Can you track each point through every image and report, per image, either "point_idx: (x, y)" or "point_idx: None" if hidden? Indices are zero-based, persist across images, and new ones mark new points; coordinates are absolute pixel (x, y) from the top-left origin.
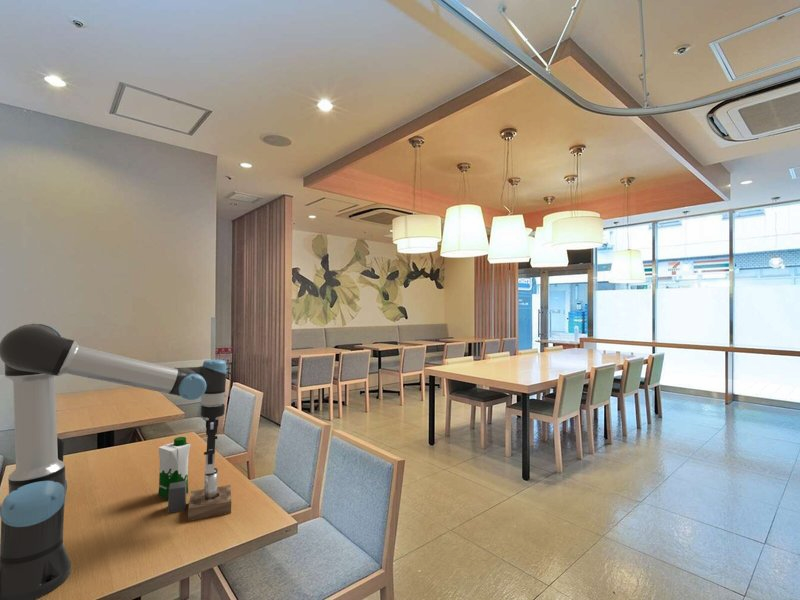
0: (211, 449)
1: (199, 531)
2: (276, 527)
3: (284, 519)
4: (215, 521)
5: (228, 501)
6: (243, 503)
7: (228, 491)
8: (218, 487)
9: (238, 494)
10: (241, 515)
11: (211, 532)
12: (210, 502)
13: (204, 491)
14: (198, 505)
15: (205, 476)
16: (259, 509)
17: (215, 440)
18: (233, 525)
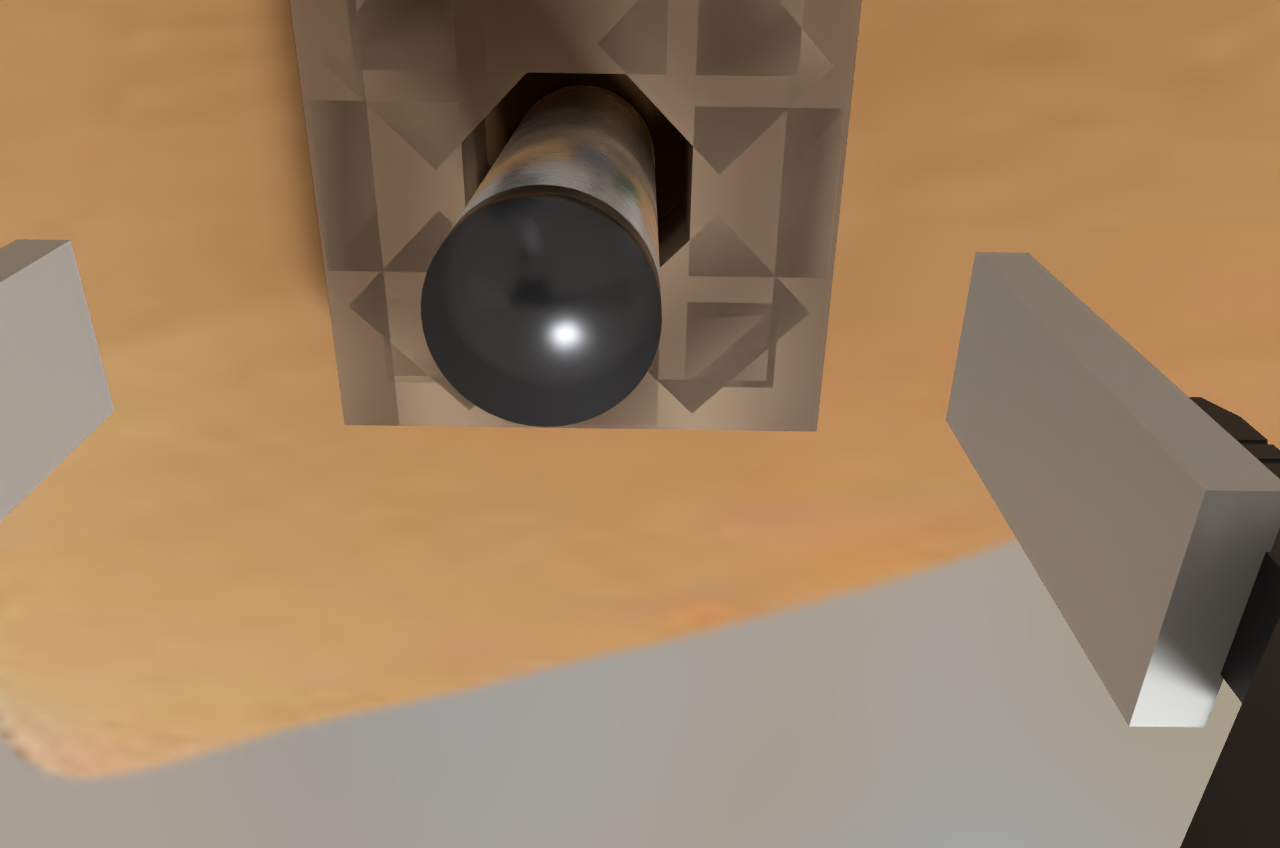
0: (1041, 461)
1: (47, 47)
2: (8, 687)
3: (130, 750)
4: (234, 213)
5: (341, 395)
6: (550, 486)
7: (627, 403)
8: (810, 290)
9: (790, 453)
10: (295, 455)
11: (5, 173)
12: (378, 191)
13: (552, 124)
14: (333, 35)
15: (491, 192)
16: (369, 603)
17: (1134, 725)
18: (110, 378)
